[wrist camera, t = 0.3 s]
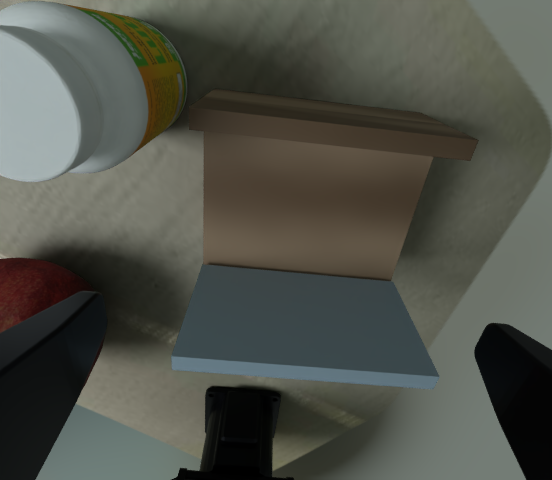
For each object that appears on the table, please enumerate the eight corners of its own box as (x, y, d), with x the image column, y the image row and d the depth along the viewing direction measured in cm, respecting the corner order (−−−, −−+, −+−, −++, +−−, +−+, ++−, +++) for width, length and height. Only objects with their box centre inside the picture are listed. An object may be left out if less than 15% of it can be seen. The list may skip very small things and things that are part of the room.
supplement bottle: (202, 47, 17) (126, 50, 8) (174, 148, 19) (93, 229, 11) (90, -6, 16) (-128, -64, 7) (76, 108, 18) (-99, 164, 10)
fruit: (83, 364, 28) (-3, 506, 19) (-41, 297, 25) (-213, 435, 16) (158, 292, 24) (92, 429, 16) (24, 202, 21) (-156, 314, 12)
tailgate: (388, 296, 20) (430, 393, 15) (202, 280, 20) (172, 374, 14) (393, 281, 20) (439, 376, 14) (202, 264, 19) (171, 356, 13)
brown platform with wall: (377, 254, 23) (407, 316, 17) (212, 238, 22) (191, 298, 17) (420, 112, 18) (478, 140, 13) (214, 88, 18) (188, 107, 12)
